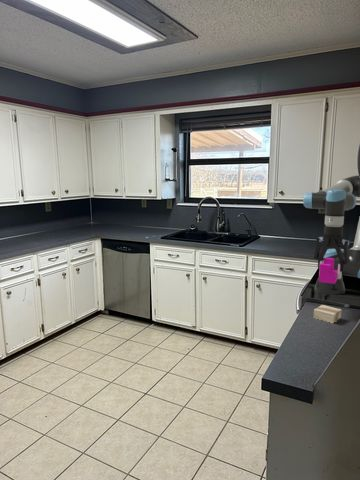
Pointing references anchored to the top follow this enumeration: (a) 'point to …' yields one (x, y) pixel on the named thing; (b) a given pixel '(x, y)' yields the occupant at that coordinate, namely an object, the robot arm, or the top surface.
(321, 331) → the top surface
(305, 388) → the top surface
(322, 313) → the riser
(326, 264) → the toy block
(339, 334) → the top surface
